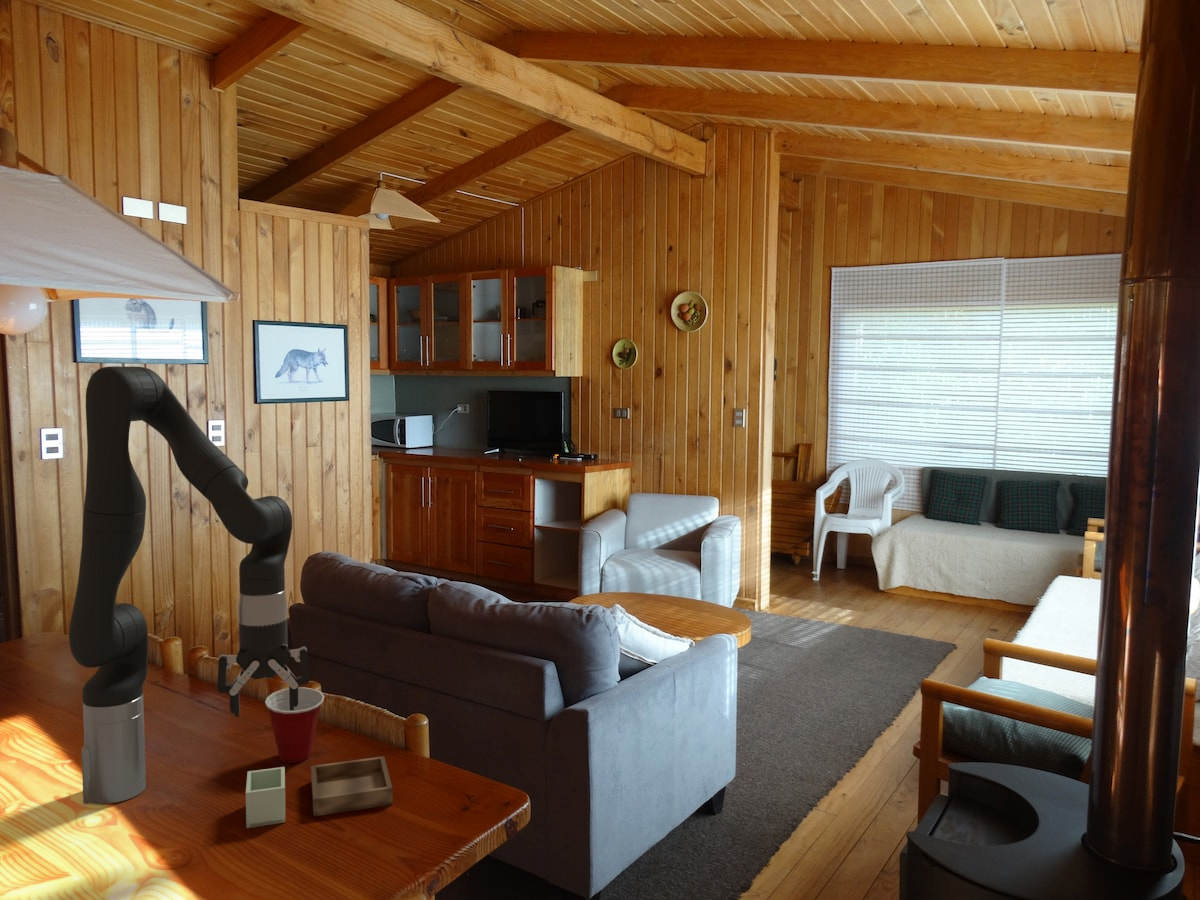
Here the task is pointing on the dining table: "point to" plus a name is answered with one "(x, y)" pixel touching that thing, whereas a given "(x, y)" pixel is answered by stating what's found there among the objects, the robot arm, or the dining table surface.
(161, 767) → the dining table surface
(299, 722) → the plastic cup
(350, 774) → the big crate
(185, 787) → the dining table surface
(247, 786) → the box
